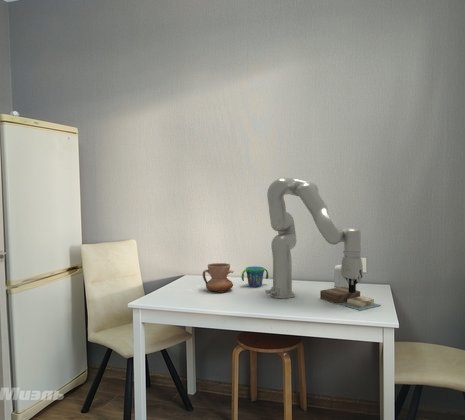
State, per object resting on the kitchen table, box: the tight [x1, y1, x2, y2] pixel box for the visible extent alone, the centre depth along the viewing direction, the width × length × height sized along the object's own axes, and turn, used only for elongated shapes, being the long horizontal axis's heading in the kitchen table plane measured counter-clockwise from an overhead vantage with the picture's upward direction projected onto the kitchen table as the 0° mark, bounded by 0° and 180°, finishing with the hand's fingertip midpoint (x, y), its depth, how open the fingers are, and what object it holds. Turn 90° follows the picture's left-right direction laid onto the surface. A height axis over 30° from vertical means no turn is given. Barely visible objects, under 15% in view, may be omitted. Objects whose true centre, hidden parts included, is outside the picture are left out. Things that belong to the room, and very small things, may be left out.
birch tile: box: [347, 295, 375, 308], centre depth 202 cm, size 10×7×2 cm
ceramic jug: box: [202, 262, 235, 293], centre depth 234 cm, size 18×14×14 cm
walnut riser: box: [319, 287, 361, 305], centre depth 214 cm, size 15×12×4 cm
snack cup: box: [241, 265, 269, 288], centre depth 243 cm, size 16×10×10 cm
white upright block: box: [333, 264, 349, 288], centre depth 236 cm, size 10×4×12 cm, turn 52°
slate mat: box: [338, 302, 382, 311], centre depth 203 cm, size 14×13×1 cm
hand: (352, 292), depth 207 cm, fingers closed
